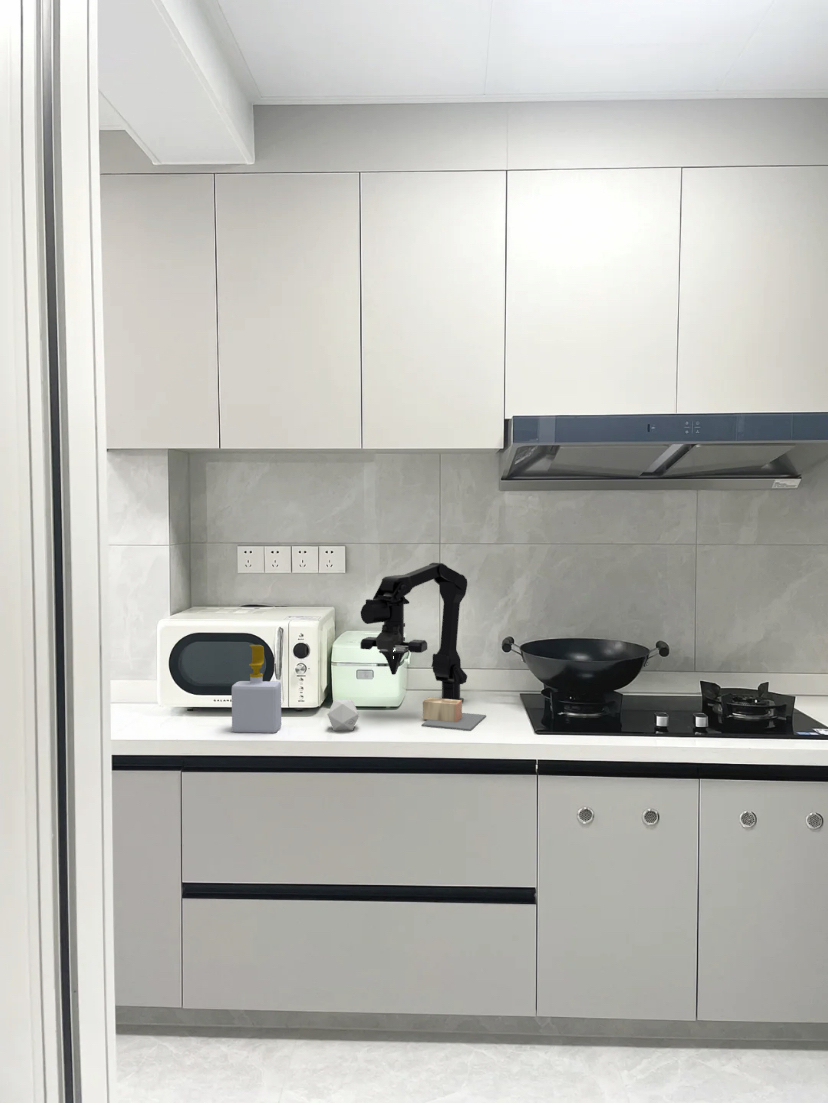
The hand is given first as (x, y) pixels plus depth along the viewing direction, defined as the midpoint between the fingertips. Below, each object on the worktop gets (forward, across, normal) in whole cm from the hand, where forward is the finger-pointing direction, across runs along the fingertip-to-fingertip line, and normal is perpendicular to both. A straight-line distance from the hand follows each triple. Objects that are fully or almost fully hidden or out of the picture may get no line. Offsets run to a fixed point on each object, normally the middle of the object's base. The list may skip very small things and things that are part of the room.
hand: (393, 674), depth 238 cm
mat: (+12, +18, 0) cm, 22 cm away
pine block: (+9, +10, 0) cm, 13 cm away
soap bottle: (+12, -30, -26) cm, 42 cm away
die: (+12, -8, -18) cm, 23 cm away
